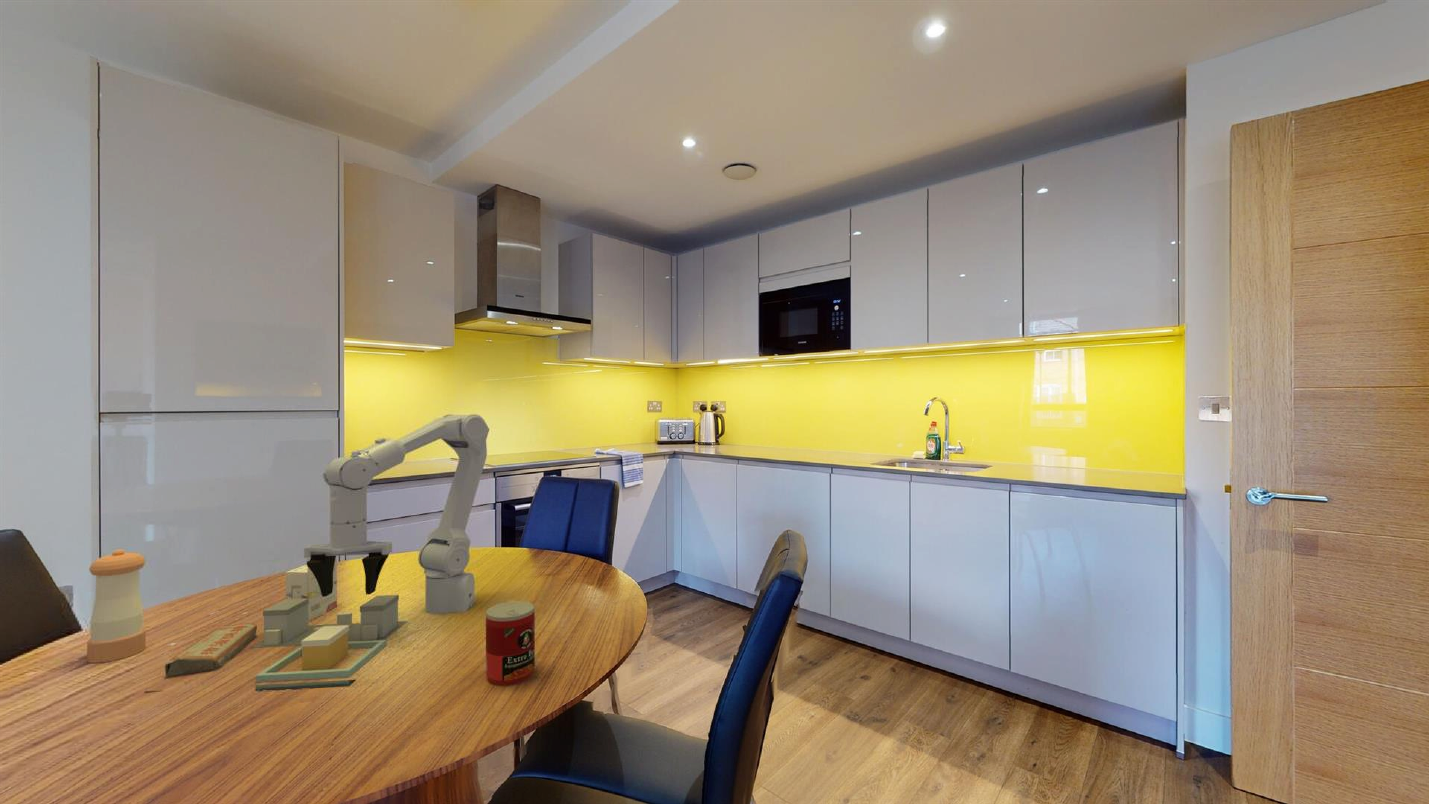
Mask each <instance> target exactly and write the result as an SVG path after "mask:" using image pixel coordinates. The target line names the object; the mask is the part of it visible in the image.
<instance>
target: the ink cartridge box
mask: <svg viewBox="0 0 1429 804" xmlns="http://www.w3.org/2000/svg"><path fill="white" fill-rule="evenodd" d="M310 559H311V557H310V558H306V562H307V561H310ZM337 572H338V562H337V558H336V559H335V563H334V569H333V591H332V593H331V594H329V595H328V596H326V597H322V594H321V590H320V587H319V585H318V582H317V580H316V578H315V576H314V574H313V573H312V571H311V570H310V569H309V567H308V566H307V564H305V565H302V566H299V567H297V568H294V569H291V570H288V571H286V572H285V588H286V589H285V595H286V596H285V600H286V599H308V598H309V604H308V622H309V621H312V620H313V619H316V618H318V617H320V616H322V615H324V614H325V613H328V612H330V611H331V610H333V609H335V608H337V607H338V578H337V577H338V573H337Z"/></svg>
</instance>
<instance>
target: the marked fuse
mask: <svg viewBox="0 0 1429 804" xmlns="http://www.w3.org/2000/svg"><path fill="white" fill-rule="evenodd" d="M348 631H349V625H341V626H324V627H322V628H321V629H319V630H317V631H316V632H314V633H313V634H311V635H310V636H308V637H307V638H305V639H303V640H302V641H301V646H300V647H302V655H301V671H312V670H331V669H332V667H333V666H335V665H336V664H337V663H339V662H340V661H341V660H343V659H345V657H347V656H348V655H349V649H348Z"/></svg>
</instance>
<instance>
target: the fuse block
mask: <svg viewBox="0 0 1429 804" xmlns="http://www.w3.org/2000/svg"><path fill="white" fill-rule="evenodd" d="M407 623H408V620H398V625H397V626H396V627H395V628H394V629H392V630H391V631H390V632H389V633H387V634H386V635H385V636H384V637H378V625H364V626H363V627H362V638H361V622H357V623H356V622H355V623H353V613H352V612H339V613H337V614H336V623H333V624H330V623H329V624H313V625H310V624H309V625H308V629H307V630H305V631H304V632H302V633H300V634H299V635H297V636H296V637H294V638H292V639H291V640H289V641H287V642H281V629H275V630H266V631H264V630H263V640H261V641H260V642H257V643H256V644H254V645H253V646H251V647H250V649H259V648H260V649H262V648H277V647H278V648H279V647H280V648H281V647H301V641H302V640H303V639H305V638H307V637H308V636H310V635H311V634H313V633H314V632H316V631H317V630H319V629H321V628H322V627H324V626H341V625H349V631H348V642H354V641H374V640H386V641H387V639H388V638H389V637H390V636H392V635H393V634H394V633H395V632H396V631H398V630H399V629H401V627H403V625H405V624H407Z"/></svg>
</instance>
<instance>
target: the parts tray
mask: <svg viewBox="0 0 1429 804" xmlns="http://www.w3.org/2000/svg"><path fill="white" fill-rule="evenodd" d="M385 647H387V639H386V640H374V641H354V642H348V650H359V649H360V650H361V649H362V650H363V649H368V650H367V652H365V653H364V654H363V655H361V656H360V657H359V658H358V659H357V660H355V661H354V662H353V663H351V665H349V666H348V667H347V668H336V669H335V668H334V669H333V668H330V669H328V670H312V671H302V670H296V671H280V670H281V669H283V668H284V667H286V666H287V665H289V664H290V663H291V662H293V661H294V660H296V659H298V658H299V657H300V656H302V647H301V646H298V647H297V648H296V649H294V650H293V651H291V652H289V653H288V654H287V655H285V656H284V657H282V658H281V659H279V660H277V661H276V662H274V663H273V664H271V665H270V666H269V667H267V668H265V669H263V670H262V671H261V672H259V673H258V674H256V675H255V679H254V680H255V681H254V682H255V683H266V682H267V683H270V682H282V681H283V682H284V681H285V682H286V681H289V682H290V681H305V680H306V681H307V680H308V681H309V680H322V679H323V680H324V679H339V678H343V679H344V678H350V677H351V676H352V675H353V674H355V673H356V672H357V671H358V670H360V668H362V667H363V666H364V665H366V663H368V662H369V661H370V660H371V659H372V658H373V657H375V656H376V655H377V654H378V653H379V652H381V651H382V650H383V649H384V648H385ZM278 671H279V672H278ZM355 681H357V679H348V680H347V679H344V680H341V679H340V680H327V681H325V680H324V681H309V682H292V683H291V682H290V683H276V684H275V683H272V684H255V691H258V692H264V691H263V690H275V691H287V690H286V689H293V690H303V689H302V688H310V689H321V688H322V689H324V688H325V689H326V688H341V687H342V688H345V687H350V686H351V685H353V684H354V683H355ZM255 691H254V692H255Z"/></svg>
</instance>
